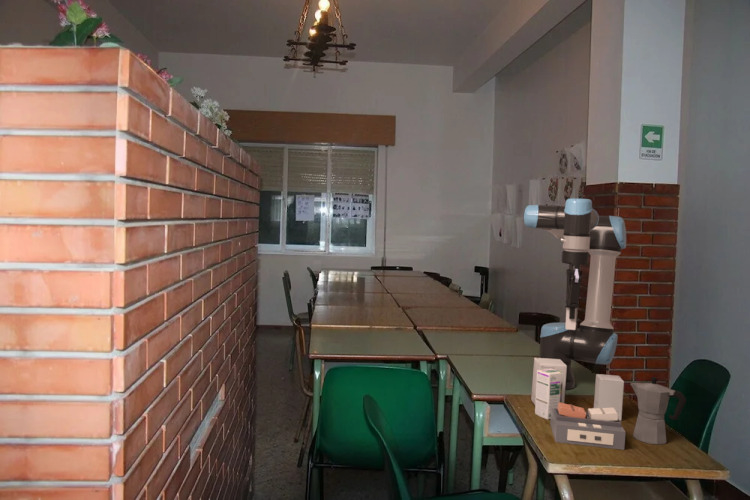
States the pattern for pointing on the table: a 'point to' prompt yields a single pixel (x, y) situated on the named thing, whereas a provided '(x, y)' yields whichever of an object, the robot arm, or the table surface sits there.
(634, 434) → the coffeepot
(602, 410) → the rocker
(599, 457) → the table surface
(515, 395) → the table surface
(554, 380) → the syrup box
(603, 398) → the supplement box
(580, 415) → the rocker
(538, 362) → the supplement box
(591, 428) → the console
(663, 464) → the table surface
